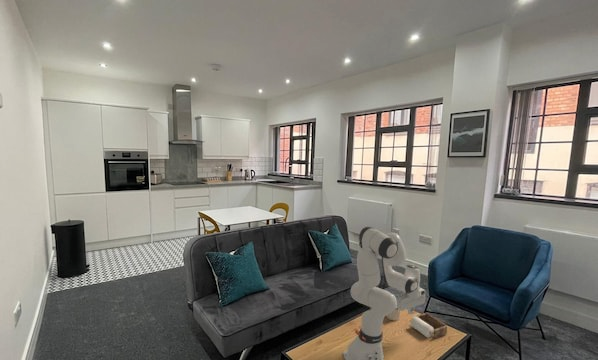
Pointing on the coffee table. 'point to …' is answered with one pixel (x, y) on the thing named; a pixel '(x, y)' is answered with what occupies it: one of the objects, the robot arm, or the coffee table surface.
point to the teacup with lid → (394, 315)
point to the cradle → (434, 324)
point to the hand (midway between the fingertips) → (410, 313)
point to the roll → (422, 326)
